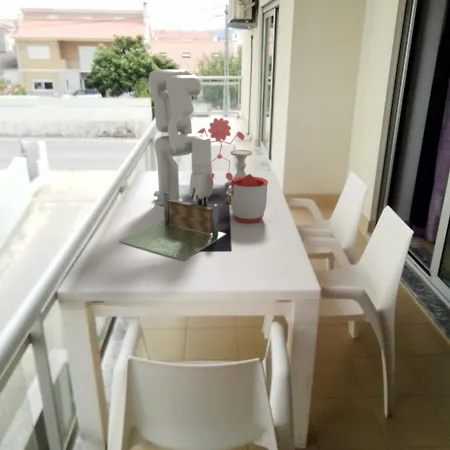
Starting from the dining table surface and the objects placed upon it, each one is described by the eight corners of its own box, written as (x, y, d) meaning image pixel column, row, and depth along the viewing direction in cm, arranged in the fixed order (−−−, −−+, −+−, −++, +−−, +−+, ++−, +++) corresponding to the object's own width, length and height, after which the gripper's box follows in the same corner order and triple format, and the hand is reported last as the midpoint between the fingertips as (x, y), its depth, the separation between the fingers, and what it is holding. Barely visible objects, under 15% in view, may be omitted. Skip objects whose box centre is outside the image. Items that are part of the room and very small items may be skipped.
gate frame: (119, 242, 164) (116, 206, 159) (166, 220, 186) (164, 188, 181) (183, 261, 149) (182, 222, 144) (226, 234, 172) (226, 200, 167)
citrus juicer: (224, 213, 195) (224, 169, 188) (263, 212, 197) (264, 169, 189) (228, 226, 181) (228, 179, 173) (269, 225, 182) (271, 178, 175)
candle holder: (225, 202, 210) (225, 153, 201) (233, 196, 219) (234, 148, 211) (247, 205, 206) (248, 155, 197) (254, 198, 215) (256, 150, 207)
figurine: (244, 184, 239) (246, 119, 228) (197, 185, 236) (196, 119, 224) (239, 177, 254) (240, 115, 242) (195, 179, 250) (194, 116, 238)
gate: (169, 224, 179) (168, 200, 175) (172, 222, 181) (171, 199, 177) (209, 234, 169) (209, 209, 166) (212, 232, 171) (212, 207, 167)
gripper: (204, 164, 178) (205, 207, 184) (182, 171, 166) (183, 216, 172) (219, 166, 174) (220, 209, 181) (198, 173, 162) (199, 220, 169)
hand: (202, 213), depth 176 cm, fingers closed
